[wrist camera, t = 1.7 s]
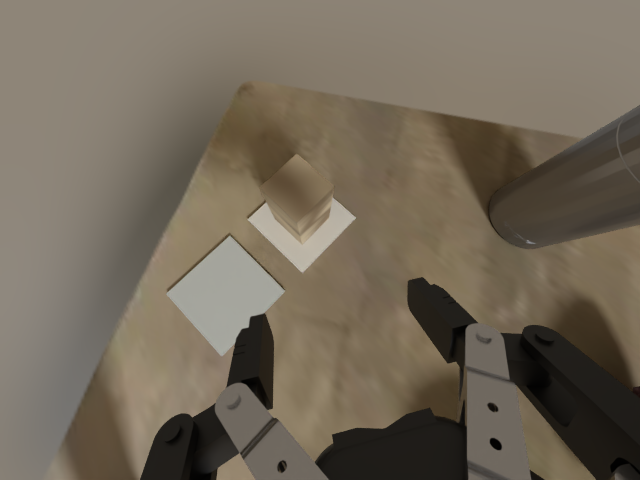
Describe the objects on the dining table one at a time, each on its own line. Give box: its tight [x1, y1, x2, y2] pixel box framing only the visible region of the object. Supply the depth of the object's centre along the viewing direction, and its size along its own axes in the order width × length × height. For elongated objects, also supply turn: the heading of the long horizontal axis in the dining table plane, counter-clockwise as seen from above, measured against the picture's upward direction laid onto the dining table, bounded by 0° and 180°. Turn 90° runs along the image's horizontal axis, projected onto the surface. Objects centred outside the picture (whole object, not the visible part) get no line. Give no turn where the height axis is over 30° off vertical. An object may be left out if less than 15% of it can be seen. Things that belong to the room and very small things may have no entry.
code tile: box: [247, 198, 356, 273], centre depth 31 cm, size 10×10×1 cm
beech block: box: [259, 154, 335, 245], centre depth 27 cm, size 5×5×9 cm
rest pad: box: [166, 236, 285, 356], centre depth 29 cm, size 10×10×1 cm
